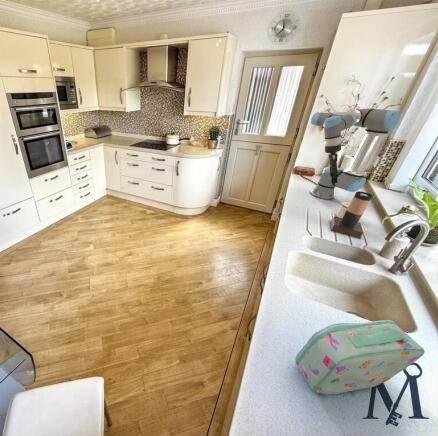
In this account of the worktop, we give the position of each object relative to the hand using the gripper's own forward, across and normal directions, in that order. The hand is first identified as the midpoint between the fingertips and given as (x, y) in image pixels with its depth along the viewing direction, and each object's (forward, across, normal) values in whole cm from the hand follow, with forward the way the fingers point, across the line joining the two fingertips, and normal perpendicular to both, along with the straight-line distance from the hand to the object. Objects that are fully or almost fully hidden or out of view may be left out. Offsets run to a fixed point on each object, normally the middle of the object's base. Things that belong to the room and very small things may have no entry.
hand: (333, 179), depth 143 cm
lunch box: (+22, +115, -6) cm, 117 cm away
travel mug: (+26, +10, +6) cm, 29 cm away
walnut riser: (+30, +10, +4) cm, 32 cm away
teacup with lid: (+32, -11, +6) cm, 34 cm away
